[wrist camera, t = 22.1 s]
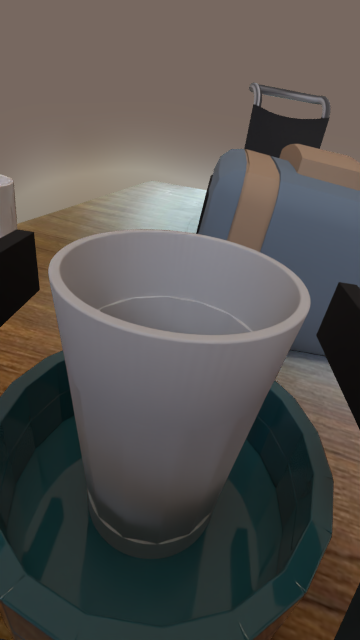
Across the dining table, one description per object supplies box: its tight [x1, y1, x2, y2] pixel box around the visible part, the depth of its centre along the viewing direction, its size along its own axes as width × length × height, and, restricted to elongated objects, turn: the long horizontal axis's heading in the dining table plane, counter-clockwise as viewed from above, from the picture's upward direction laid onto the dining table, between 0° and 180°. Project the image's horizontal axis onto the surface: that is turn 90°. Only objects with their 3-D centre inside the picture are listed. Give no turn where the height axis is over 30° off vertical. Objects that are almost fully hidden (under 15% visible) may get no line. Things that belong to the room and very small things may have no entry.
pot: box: [0, 351, 334, 640], centre depth 16 cm, size 15×15×5 cm
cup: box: [48, 229, 311, 559], centre depth 14 cm, size 8×8×12 cm
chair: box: [245, 83, 330, 158], centre depth 49 cm, size 13×17×22 cm
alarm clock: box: [196, 144, 360, 356], centre depth 32 cm, size 16×16×16 cm
